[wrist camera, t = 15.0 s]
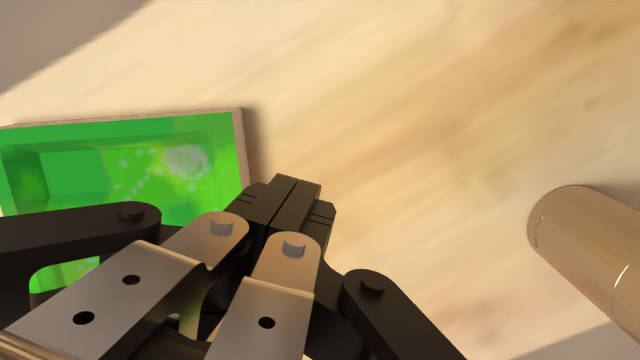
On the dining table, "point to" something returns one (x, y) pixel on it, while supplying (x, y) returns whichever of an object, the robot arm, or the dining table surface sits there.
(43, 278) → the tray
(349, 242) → the dining table surface
